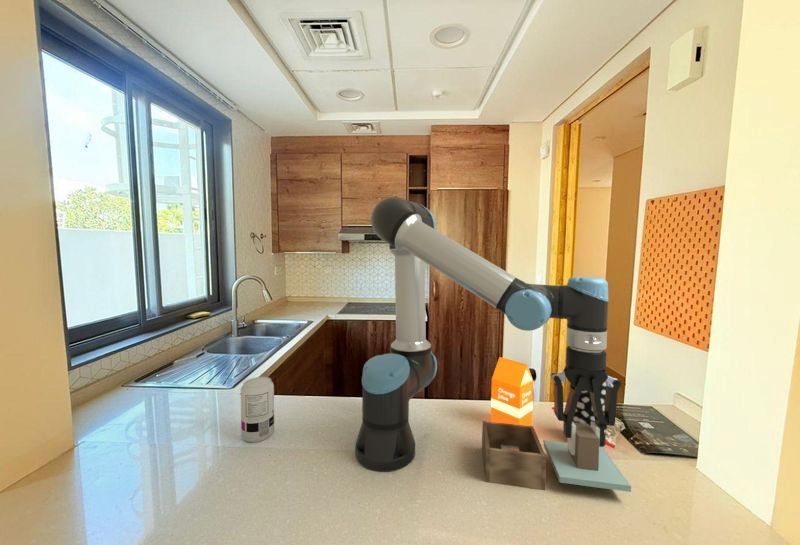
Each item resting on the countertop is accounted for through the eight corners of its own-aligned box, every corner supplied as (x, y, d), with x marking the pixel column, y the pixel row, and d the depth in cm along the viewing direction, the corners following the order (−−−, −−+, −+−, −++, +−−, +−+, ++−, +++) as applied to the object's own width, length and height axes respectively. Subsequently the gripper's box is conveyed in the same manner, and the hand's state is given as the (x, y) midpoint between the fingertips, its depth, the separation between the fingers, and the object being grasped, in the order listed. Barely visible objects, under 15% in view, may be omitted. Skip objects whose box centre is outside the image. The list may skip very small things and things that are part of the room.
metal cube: (502, 472, 70) (502, 454, 70) (500, 460, 74) (500, 444, 74) (521, 474, 70) (521, 457, 70) (517, 462, 74) (518, 446, 73)
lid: (559, 482, 64) (560, 443, 64) (543, 445, 77) (544, 412, 76) (630, 491, 61) (632, 451, 61) (602, 451, 74) (603, 418, 74)
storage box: (485, 485, 67) (486, 449, 67) (481, 451, 79) (482, 420, 79) (544, 493, 65) (546, 456, 65) (532, 457, 77) (533, 426, 76)
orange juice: (518, 440, 84) (520, 367, 83) (490, 426, 91) (491, 359, 90) (532, 430, 89) (534, 361, 88) (504, 418, 96) (505, 354, 95)
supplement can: (234, 439, 83) (233, 384, 83) (259, 424, 91) (258, 374, 90) (257, 446, 80) (256, 389, 80) (280, 430, 88) (280, 378, 87)
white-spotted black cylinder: (610, 458, 77) (614, 378, 76) (574, 453, 79) (576, 375, 78) (596, 439, 85) (599, 367, 84) (563, 435, 87) (566, 364, 86)
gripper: (548, 350, 66) (545, 458, 67) (639, 355, 63) (635, 468, 64) (539, 341, 73) (537, 438, 74) (620, 345, 70) (617, 447, 71)
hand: (582, 452), depth 69 cm, fingers closed on lid, 4 cm apart
